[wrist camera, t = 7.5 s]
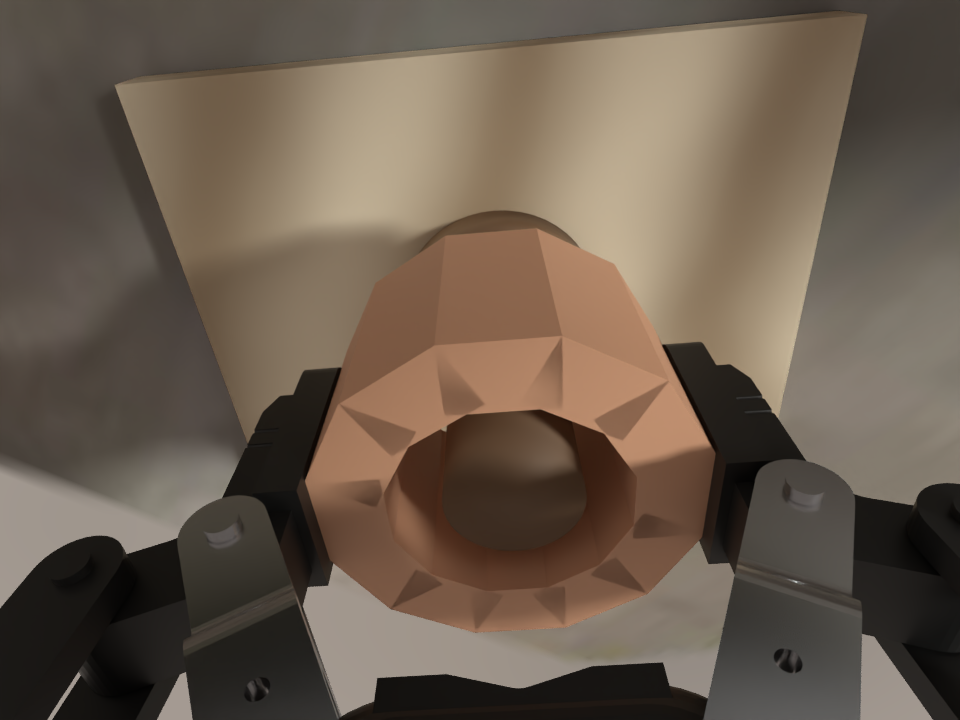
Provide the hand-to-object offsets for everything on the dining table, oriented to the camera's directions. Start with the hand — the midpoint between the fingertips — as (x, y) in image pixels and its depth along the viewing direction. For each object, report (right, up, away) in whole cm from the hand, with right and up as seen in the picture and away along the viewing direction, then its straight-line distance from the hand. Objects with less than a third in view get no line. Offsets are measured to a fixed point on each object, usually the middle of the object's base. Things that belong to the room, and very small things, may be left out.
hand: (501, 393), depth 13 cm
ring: (0, 0, +1) cm, 1 cm away
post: (0, +2, +4) cm, 4 cm away
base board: (0, +3, +5) cm, 5 cm away
